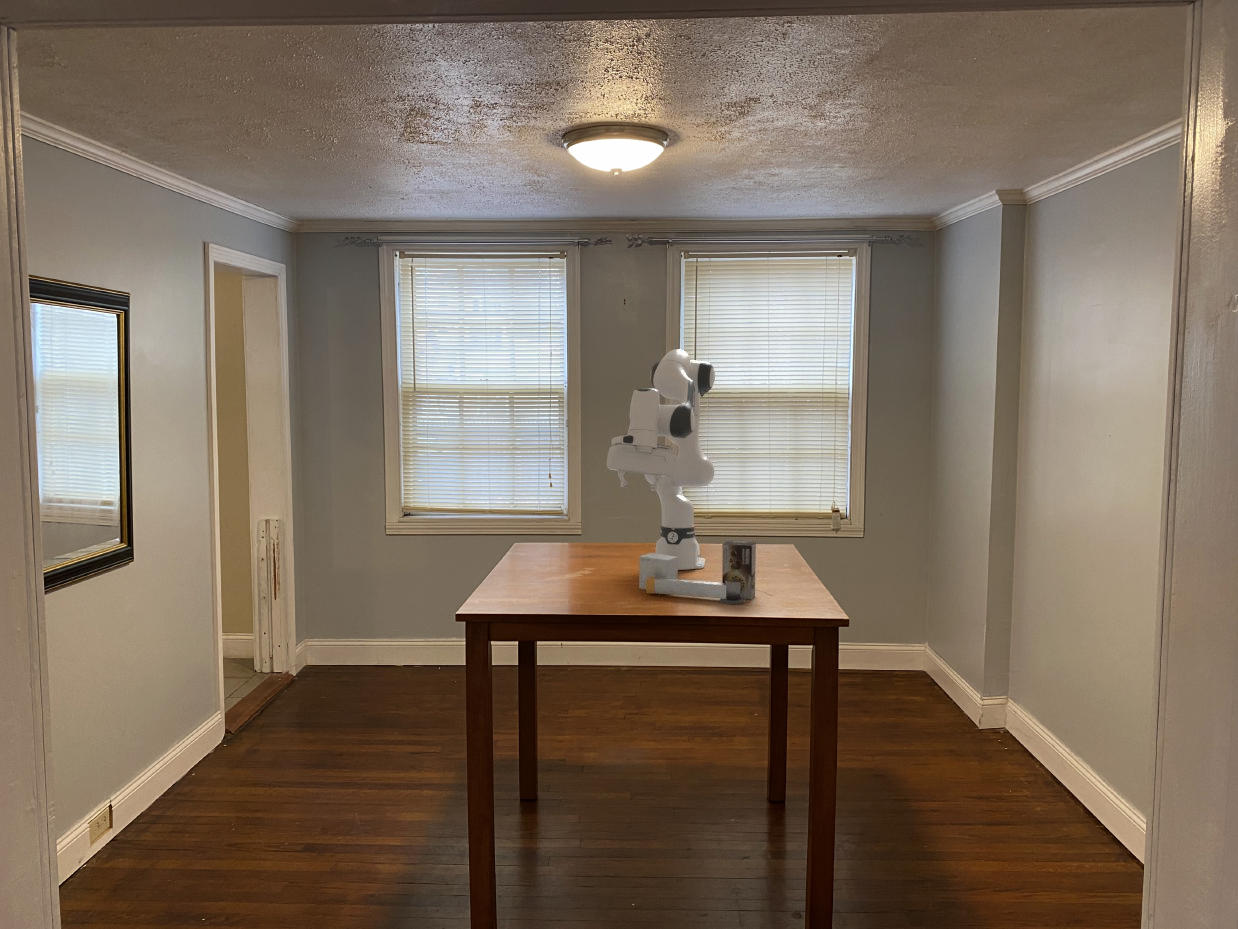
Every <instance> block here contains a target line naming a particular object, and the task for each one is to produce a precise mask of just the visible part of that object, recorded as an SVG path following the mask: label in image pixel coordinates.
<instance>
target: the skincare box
mask: <svg viewBox="0 0 1238 929" xmlns="http://www.w3.org/2000/svg"><path fill="white" fill-rule="evenodd" d="M638 574H639V578H638V579H639V582H638V583H639V585H638V589H640V588H641V589H640V590H645V589H646V578H648V577H650V576H654V577H658V578H668V579H679V578H678V574H679V570H678V557H676V556H669V555H662V554H656V552H655V553H654V552H649V553H646V554H645V553H644V554H642V555H640V556H639V573H638Z"/></svg>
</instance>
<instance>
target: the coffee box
mask: <svg viewBox="0 0 1238 929" xmlns="http://www.w3.org/2000/svg"><path fill="white" fill-rule="evenodd" d="M721 546H722V554H721V555H722V556H721V557H722V560H721V562H722V568H721V569H722V570H721V571H722V572H721V573H722V575H721V576H722V577H721V578H722V579H721V580H722V582H721V583H725V581H726V580H738V581H741V592H740V597H741V598H744V599H745V600H753V598H754V597H755V596H756V561H757V560H756V557H757V556H756V551H757V550H756V549H757V547H756V546H757V545H756V542H755V541H736V540H726V541H724V543H722V545H721Z"/></svg>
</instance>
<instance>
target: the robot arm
mask: <svg viewBox="0 0 1238 929" xmlns="http://www.w3.org/2000/svg"><path fill="white" fill-rule="evenodd" d="M715 380H716V372H715V370H714V366H713V364H712V363H710V362H707V361H705V360H704V361H703V360H702V361H699V360H692V359H691V356H690V355H689V354H688V352H686V351H685V350H682V349H672V350H670V351H668V352H667V353H666V354H665V355H664V356H663V357H662V358H661V360H658V361H655V363H653V365H652V367H651V370H650V382H651V386H652V387H651V388H648V387H646V388H645V387H643V388H642V387H640V388H636V389H634V390H633V393H632V397H631V401H630V407H629V421H630V422H629V426H628V430H627V434H622V435H620V436H616V437H612V438H611V446H610V447H609V448H608V451H607V457H606V468H607V469H608V470H610V471H617V476H618V479H619V480H620V487H621V488H627V487H628V483H629V482H628V480H626V479H625V476H624V475H625V474H626V472H627V473H635V474H640V475H641V474H642V475H644V478H645V480H646V481H647V482H648V483H649V484H650V485H649V487H650V488H649V491H655V492H656V493H657V495H658V498H659V501H660V507H661V525H660V529H659V532H660V533H659V534H660V535H659V536H660V538H659V539H658V540H657V541H656V544H655V554H662V555H669V556H676V557H678V571H680V570H681V571H682V570H685V571H687V570H694V569H704V568H705V564H706V558H704V557H701V554H700V544H699V543H698V541H697V539H696V530H697V529H696V525H695V524H694V523H695V522H694V518H695V517H694V514H695V512H694V510H695V507H694V504H693V502H692V500H690V499H689V498H687V497H686V496H684V494H683V493H682V492H681V489H680V488H702V487H707V486H709V485H710V484H711V483H712V481H713V480H714V476H715V467H714V464H713V462H712V461H711V460H710V458H708V456H706V454H704V451H703V449H702V448H701V444H700V438H699V437H700V434H699V433H700V431H699V430H700V419H701V398H703V397H704V396H705V394H707V393H708V392H709V391H710V390H712V389H713V386H714V384H715ZM660 396H662V397H663V398H665V399H670V402H669V404H661V402H660V400H661V399H660V398H661V397H660ZM658 437H666V438H667V439H668V441H670V442H671V443H672V444H673V445H676V447H677V448H678V454H675V451H674V449H673V448H672V447H671V445H665V444H660V443H658V439H659V438H658Z"/></svg>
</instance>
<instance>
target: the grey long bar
mask: <svg viewBox="0 0 1238 929" xmlns="http://www.w3.org/2000/svg"><path fill="white" fill-rule="evenodd" d="M645 591H646V592H645V593H646V594H650V595H651V594H652V595H654V594H662V595H663V594H665V595H674V596H687V597H698V598H699V597H700V598H709V599H710V598H711V599H720V600H721V599H727V600H740V592H741V581H738V580H726V581H725V583H722V582H716V581H714V582H713V581H703V580H691V579H680V578H678V579H668V578H658V577H654V576H650V577H648V578H646V590H645Z"/></svg>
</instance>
